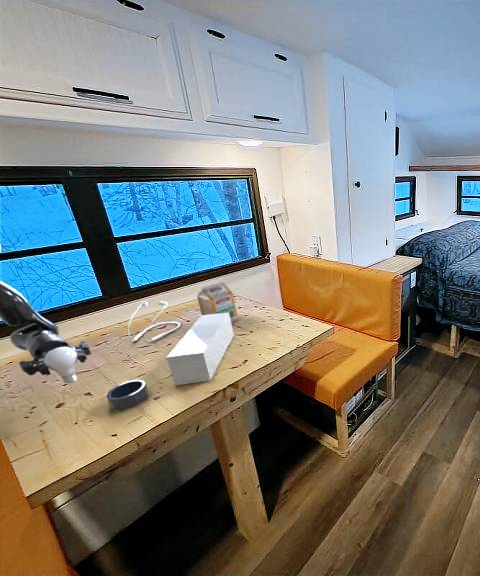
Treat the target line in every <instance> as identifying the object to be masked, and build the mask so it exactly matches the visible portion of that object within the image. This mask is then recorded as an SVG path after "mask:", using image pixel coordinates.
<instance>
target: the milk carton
mask: <svg viewBox="0 0 480 576" xmlns="http://www.w3.org/2000/svg"><path fill="white" fill-rule="evenodd" d="M234 297H235V296H234V293H233V292H232V290H231V288H229V287H228V286H227V285H226V284H225V281H224V280H221V281H219V282H215V283H212V284H209V285H205V286H202V287H200V291H199V292H198V293H197V295H196V298H197V302H198V306H199V309H200V314H201V315H209V314H219V313H229V315H230V319H231V324H233V323H236V322H238V321H239V317H238V312H237V308H236V303H235V298H234Z"/></svg>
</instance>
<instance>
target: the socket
mask: <svg viewBox="0 0 480 576" xmlns="http://www.w3.org/2000/svg"><path fill="white" fill-rule="evenodd" d="M149 395H150V392H149V388H148V386H147V383H146V381H145V380H143V379H132V380H128V381H125V382H123V383H120V384H118V385H116V386H114V387H113V388H112V389H110V390H109V391H108V392H107V394H106V399H107V401H108V404H109V406H110V408H111V410H113V411H116V412H117V411H118V412H119V411H126V410H129V409H132V408H134V407H137V406H138V405H140V404H142V403H143V402H144V401H145V400H147V399H148V397H150V396H149Z"/></svg>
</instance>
